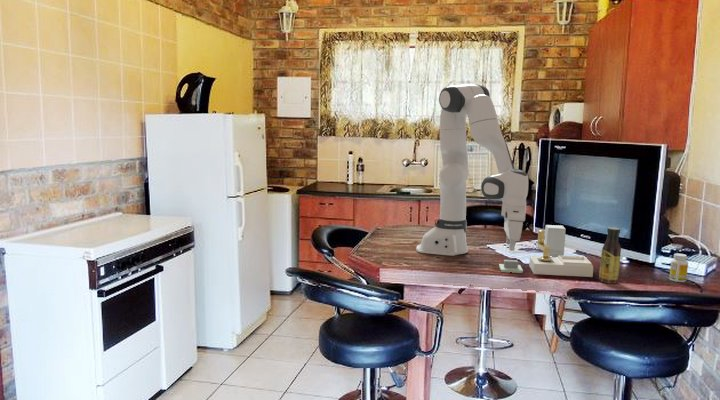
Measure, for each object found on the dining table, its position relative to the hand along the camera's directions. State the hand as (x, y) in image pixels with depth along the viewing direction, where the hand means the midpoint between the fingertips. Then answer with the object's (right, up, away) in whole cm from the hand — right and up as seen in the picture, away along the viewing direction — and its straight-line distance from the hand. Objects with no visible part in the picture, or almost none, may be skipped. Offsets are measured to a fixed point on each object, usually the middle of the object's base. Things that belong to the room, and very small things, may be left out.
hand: (510, 247), depth 210 cm
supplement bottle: (+58, -11, -11) cm, 60 cm away
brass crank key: (+13, -4, +2) cm, 14 cm away
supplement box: (+25, -6, +23) cm, 35 cm away
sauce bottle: (+32, -12, -14) cm, 36 cm away
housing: (+19, -9, -1) cm, 21 cm away
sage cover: (0, -9, +1) cm, 9 cm away
